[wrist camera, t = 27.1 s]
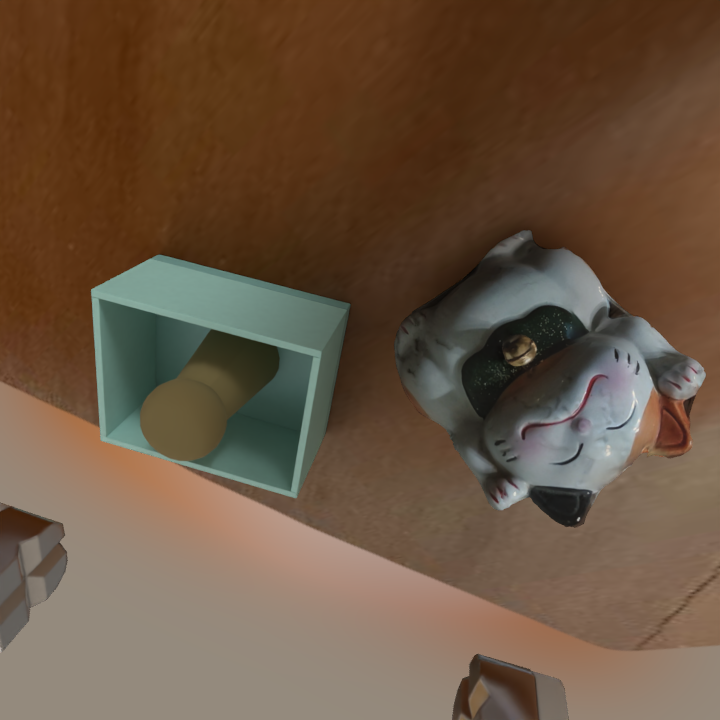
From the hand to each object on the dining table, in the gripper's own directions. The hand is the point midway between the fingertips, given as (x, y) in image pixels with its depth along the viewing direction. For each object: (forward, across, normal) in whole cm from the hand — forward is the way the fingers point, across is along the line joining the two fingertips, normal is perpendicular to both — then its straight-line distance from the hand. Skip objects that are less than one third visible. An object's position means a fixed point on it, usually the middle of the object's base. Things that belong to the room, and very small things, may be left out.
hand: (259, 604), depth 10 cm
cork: (+28, +11, +12) cm, 32 cm away
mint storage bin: (+25, +11, +6) cm, 28 cm away
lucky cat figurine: (+29, -9, +5) cm, 31 cm away
